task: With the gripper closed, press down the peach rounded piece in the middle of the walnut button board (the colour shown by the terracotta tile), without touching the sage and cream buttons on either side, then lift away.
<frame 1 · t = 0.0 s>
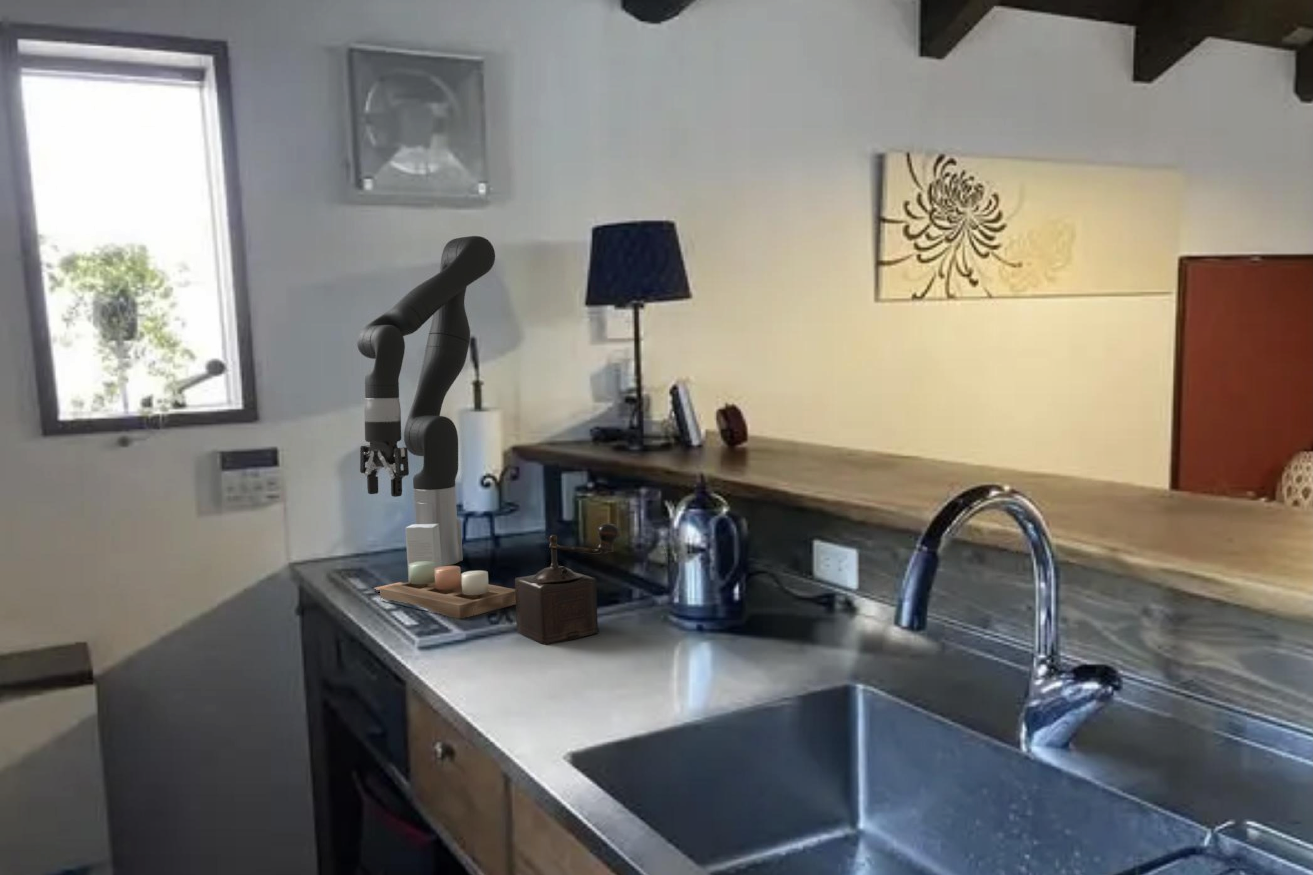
hand: (384, 495, 226), 17 cm above the worktop, tool pointing down, fingers open, 8 cm apart
button sage: (422, 572, 205), point 5 cm above the worktop, slide at 0.0 cm
button board: (449, 602, 200), on the worktop
peach rounded piece: (447, 577, 199), point 5 cm above the worktop, slide at 0.0 cm
button cream: (475, 582, 194), point 5 cm above the worktop, slide at 0.0 cm
prompt tile: (395, 590, 211), on the worktop
coffee grinder: (571, 632, 177), on the worktop
skincare box: (425, 583, 218), on the worktop
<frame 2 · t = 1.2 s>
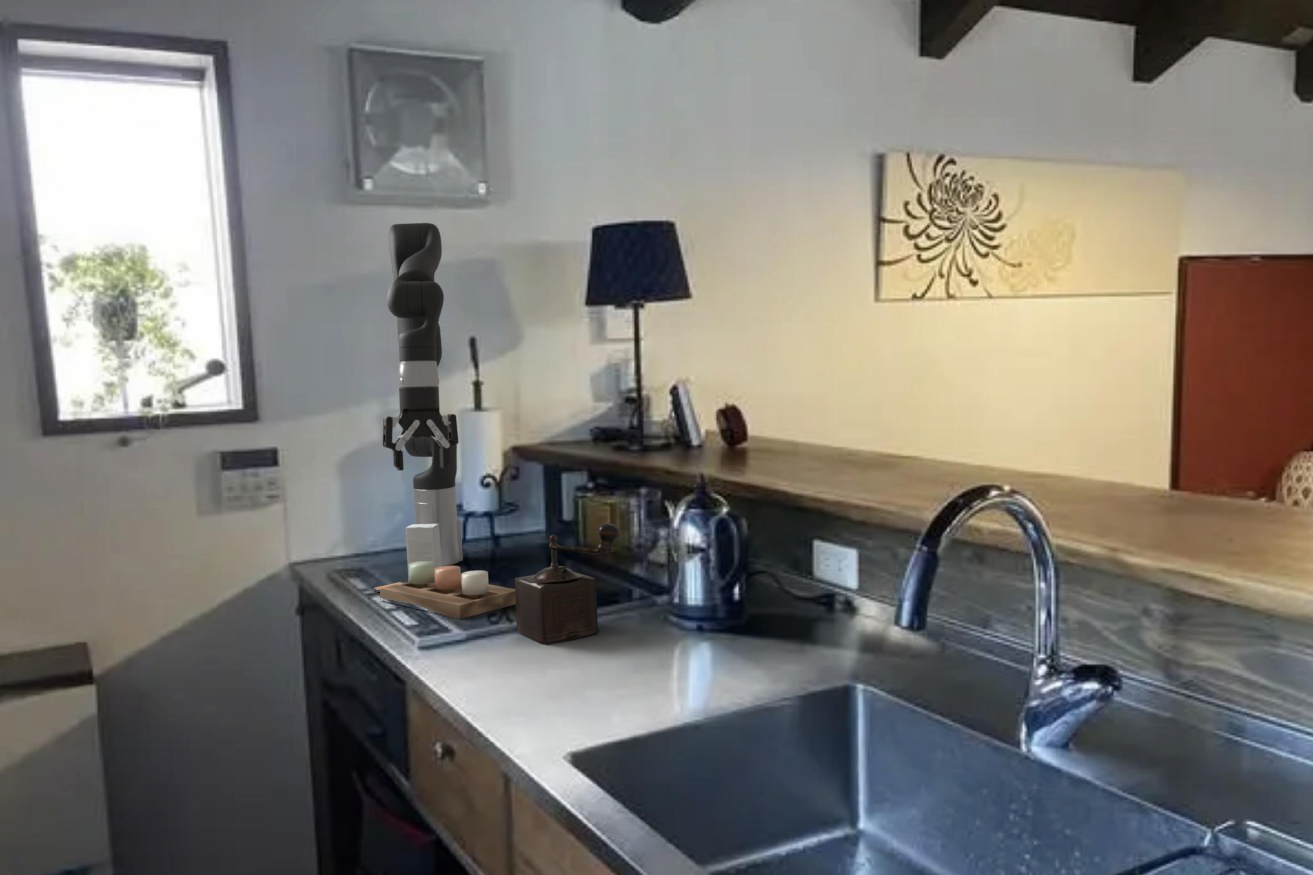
hand: (422, 468, 204), 25 cm above the worktop, tool pointing down, fingers open, 8 cm apart
nothing on the worktop moved.
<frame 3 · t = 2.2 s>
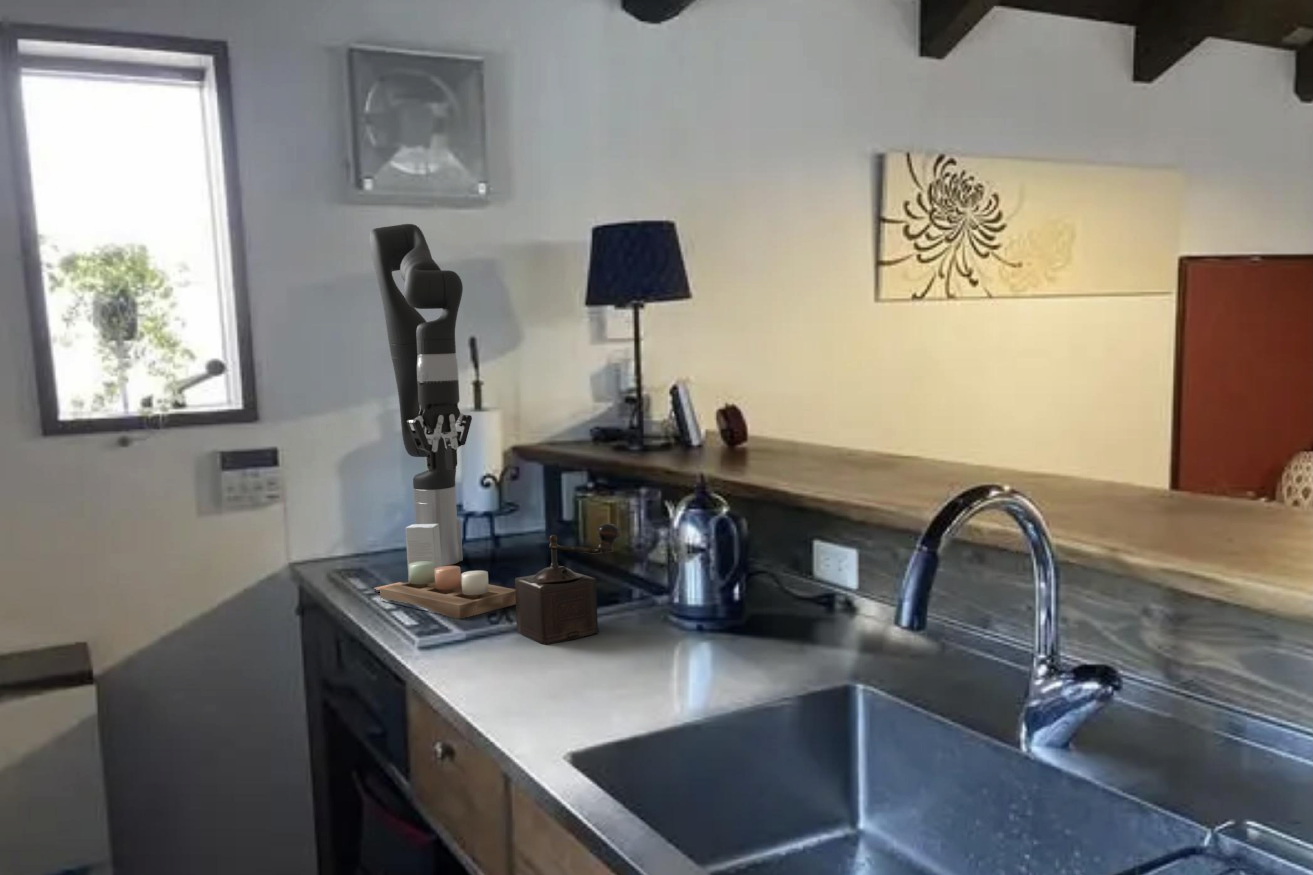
hand: (442, 470, 198), 25 cm above the worktop, tool pointing down, fingers open, 3 cm apart
nothing on the worktop moved.
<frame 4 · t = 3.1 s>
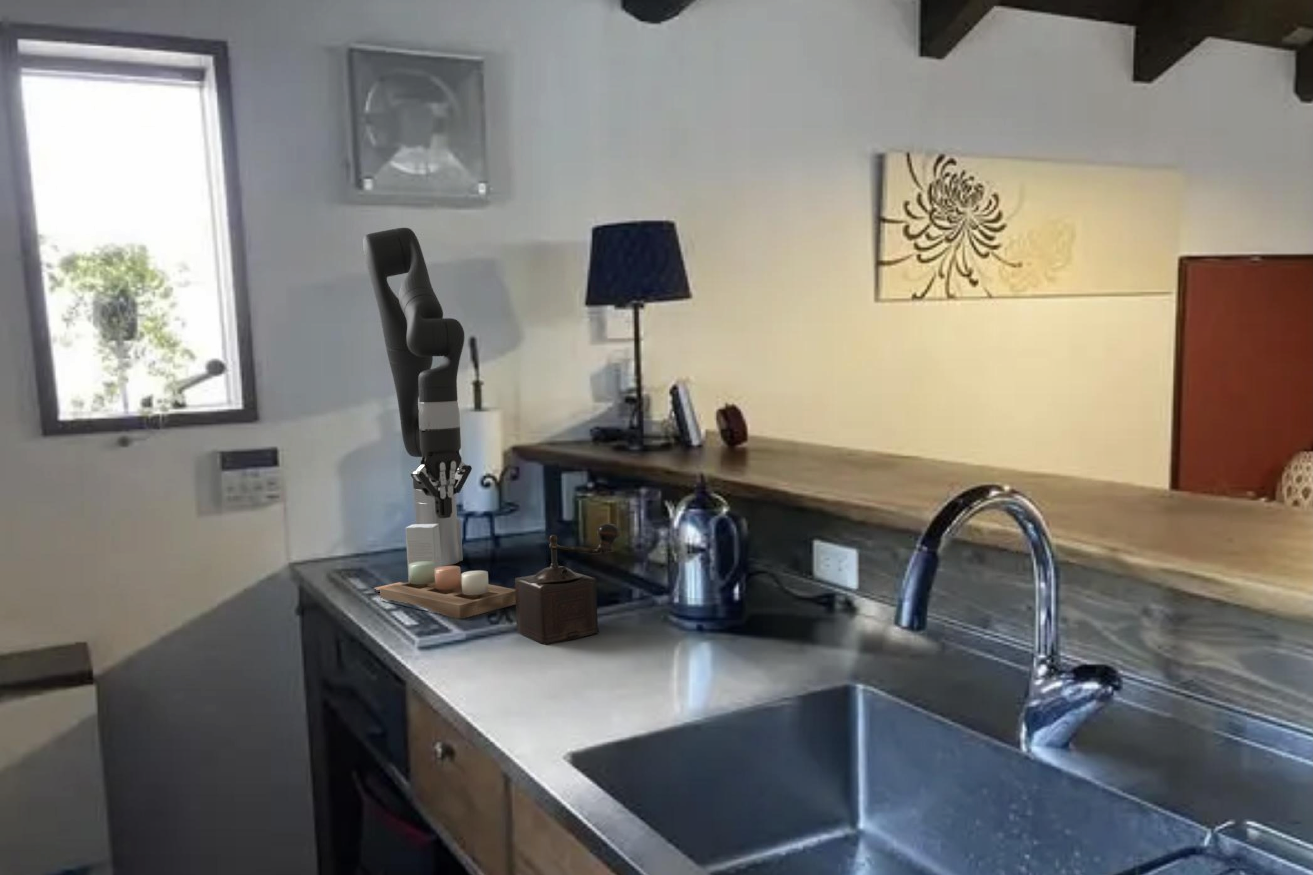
hand: (444, 517, 198), 16 cm above the worktop, tool pointing down, fingers closed
nothing on the worktop moved.
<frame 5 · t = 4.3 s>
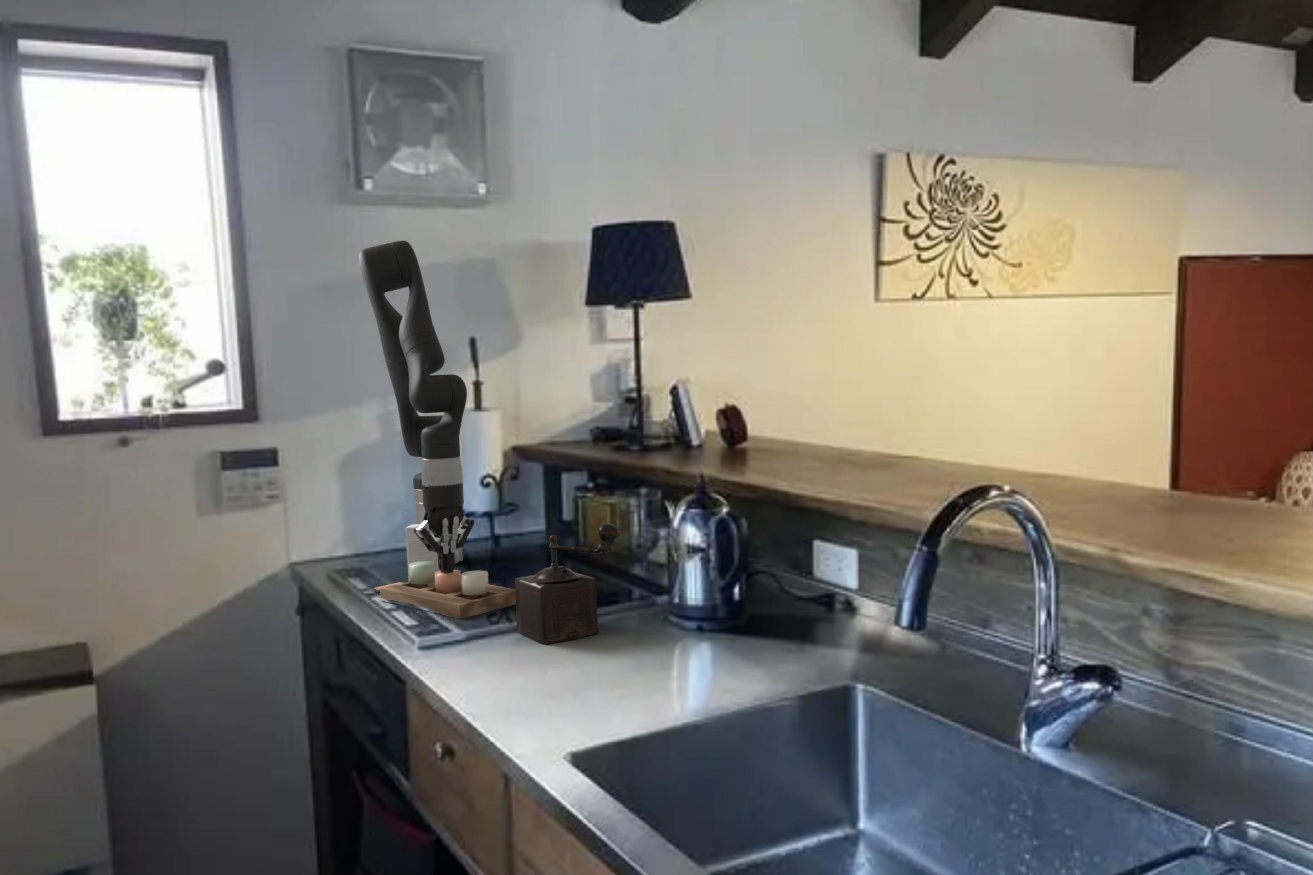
hand: (446, 572, 199), 6 cm above the worktop, tool pointing down, fingers closed
peach rounded piece: (448, 581, 200), point 4 cm above the worktop, slide at 0.8 cm, touching gripper
everything else where it was.
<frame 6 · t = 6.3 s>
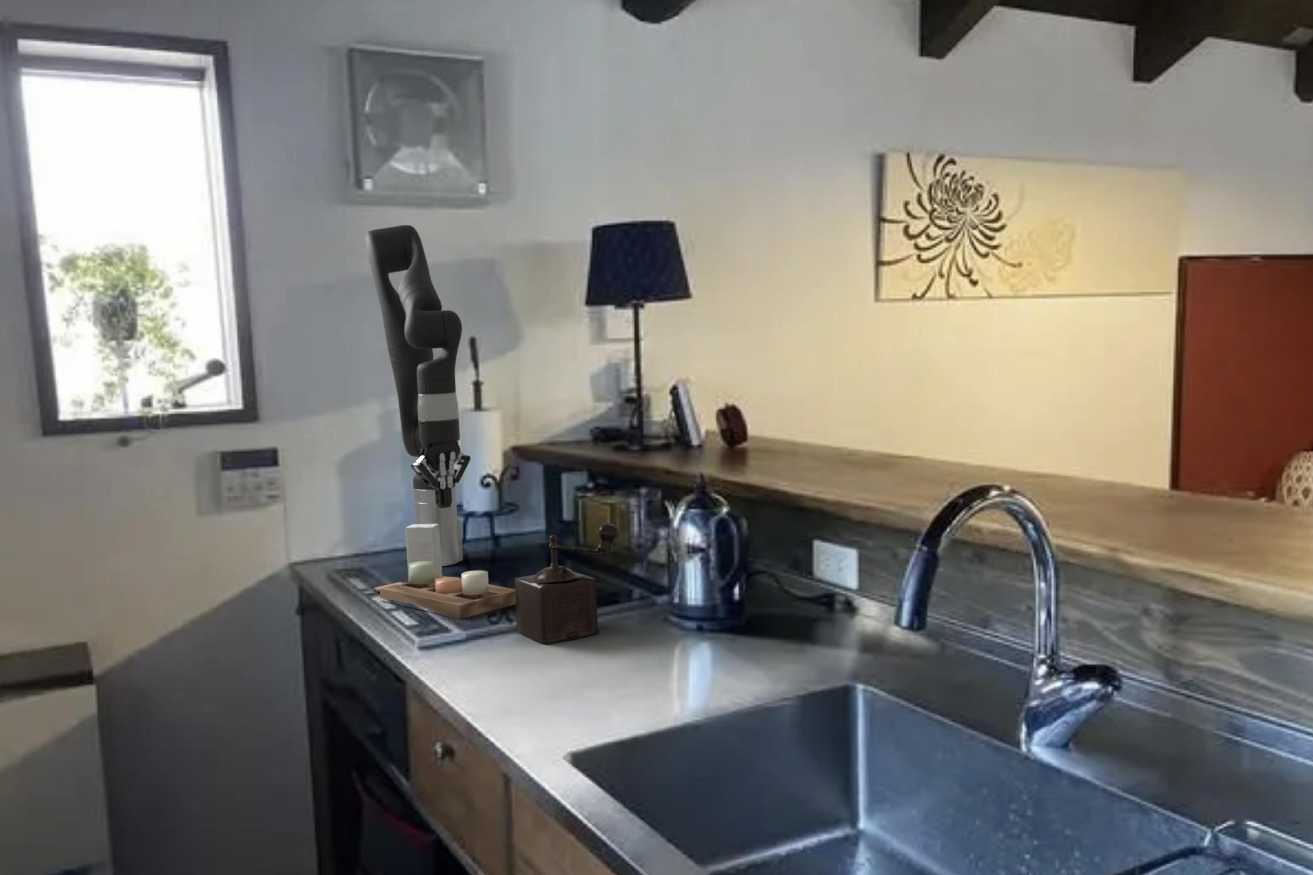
hand: (444, 507, 201), 18 cm above the worktop, tool pointing down, fingers closed
peach rounded piece: (448, 588, 200), point 3 cm above the worktop, slide at 2.2 cm
everything else where it was.
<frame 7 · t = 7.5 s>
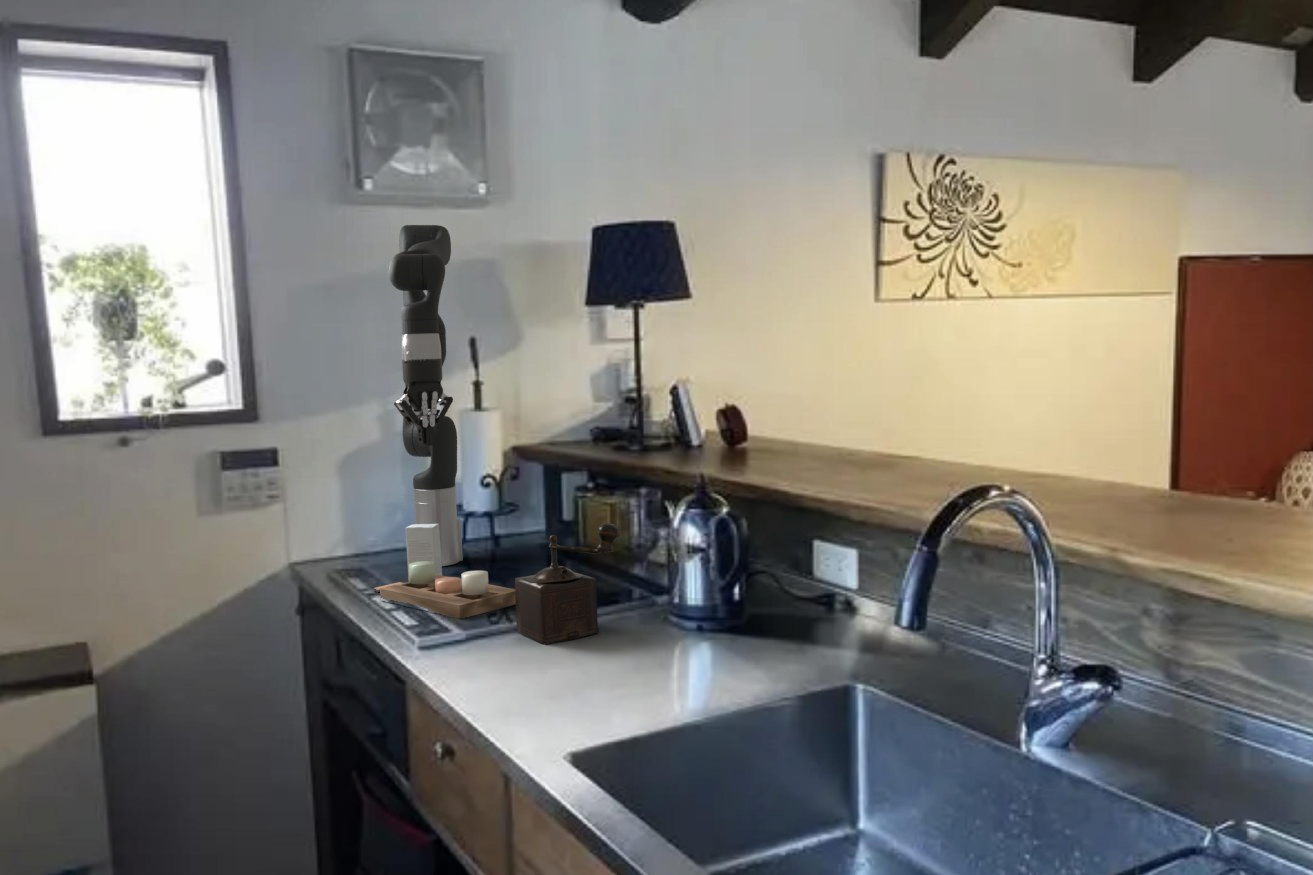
hand: (426, 445, 207), 29 cm above the worktop, tool pointing down, fingers closed
nothing on the worktop moved.
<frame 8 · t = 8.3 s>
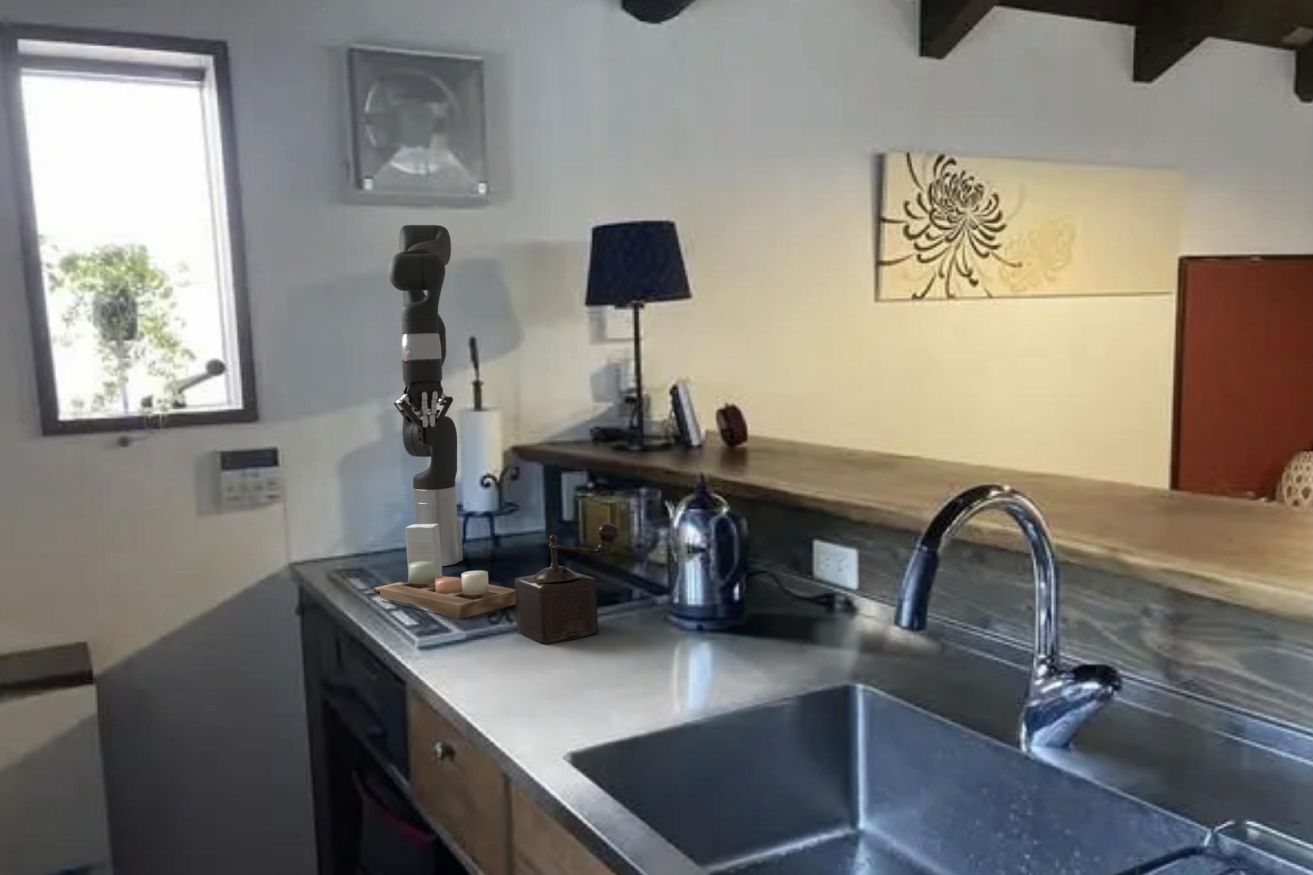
hand: (426, 445, 207), 29 cm above the worktop, tool pointing down, fingers closed
nothing on the worktop moved.
at the end: peach rounded piece slide at 2.2 cm; button sage slide at 0.0 cm; button cream slide at 0.0 cm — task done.
